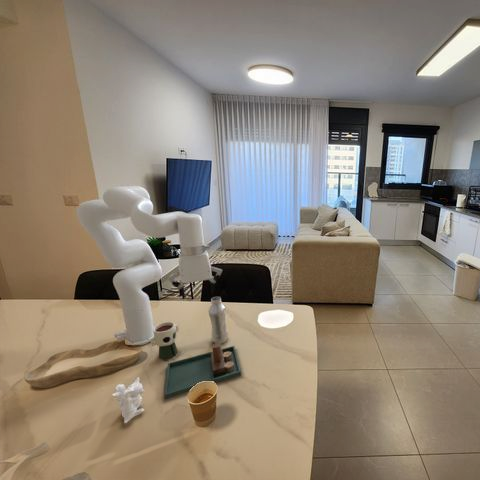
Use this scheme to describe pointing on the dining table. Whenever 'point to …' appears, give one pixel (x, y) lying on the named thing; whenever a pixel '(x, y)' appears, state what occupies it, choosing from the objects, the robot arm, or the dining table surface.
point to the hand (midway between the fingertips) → (198, 294)
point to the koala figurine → (129, 399)
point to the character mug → (165, 339)
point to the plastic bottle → (218, 321)
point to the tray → (196, 372)
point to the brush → (217, 360)
